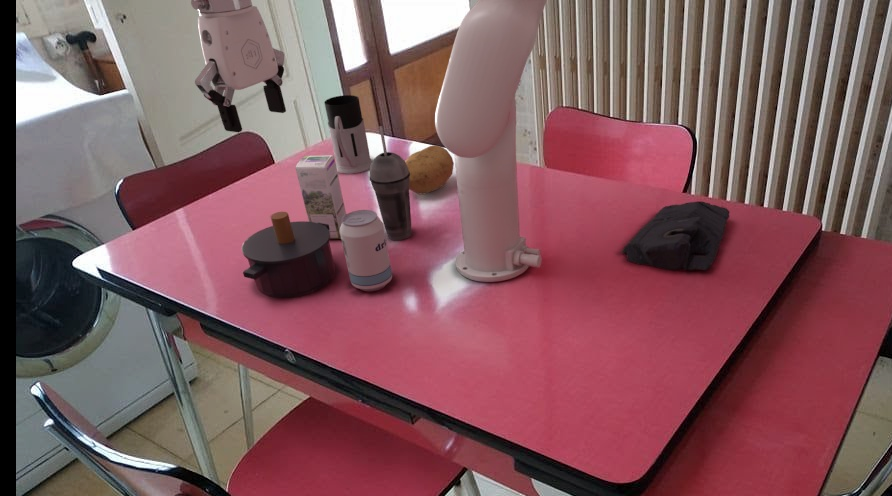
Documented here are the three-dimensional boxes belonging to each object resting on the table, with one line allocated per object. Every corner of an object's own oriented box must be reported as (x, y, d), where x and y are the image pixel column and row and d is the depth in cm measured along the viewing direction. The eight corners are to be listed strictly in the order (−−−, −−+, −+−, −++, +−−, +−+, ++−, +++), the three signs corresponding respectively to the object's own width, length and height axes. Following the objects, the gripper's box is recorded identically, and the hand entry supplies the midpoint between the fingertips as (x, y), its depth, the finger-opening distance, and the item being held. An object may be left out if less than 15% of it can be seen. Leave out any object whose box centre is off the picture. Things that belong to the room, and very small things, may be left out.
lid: (348, 234, 117) (341, 203, 114) (292, 273, 107) (283, 241, 104) (284, 222, 123) (275, 192, 119) (224, 258, 113) (214, 227, 109)
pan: (360, 259, 122) (353, 225, 118) (289, 312, 109) (279, 276, 105) (302, 247, 128) (293, 214, 124) (228, 297, 115) (216, 261, 111)
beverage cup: (382, 246, 126) (362, 138, 114) (377, 230, 131) (358, 125, 119) (422, 239, 127) (406, 131, 115) (415, 223, 133) (399, 118, 121)
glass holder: (375, 158, 163) (364, 93, 154) (367, 181, 152) (354, 112, 143) (338, 160, 163) (325, 95, 154) (328, 184, 152) (312, 115, 143)
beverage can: (387, 294, 112) (375, 226, 104) (346, 294, 113) (331, 227, 105) (397, 273, 117) (386, 207, 110) (358, 273, 118) (344, 208, 111)
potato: (390, 199, 143) (384, 162, 138) (427, 175, 152) (423, 139, 148) (429, 206, 139) (424, 168, 134) (465, 180, 148) (461, 144, 143)
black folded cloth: (742, 222, 124) (746, 197, 121) (705, 278, 109) (709, 251, 106) (660, 208, 130) (662, 185, 128) (615, 260, 116) (616, 234, 113)
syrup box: (350, 226, 134) (334, 153, 125) (341, 240, 129) (325, 165, 120) (321, 226, 134) (304, 154, 126) (312, 240, 130) (293, 166, 121)
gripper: (195, 14, 91) (233, 141, 102) (284, -10, 103) (310, 107, 113) (157, 12, 95) (197, 136, 105) (248, -10, 106) (277, 103, 117)
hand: (256, 121), depth 109 cm, fingers open, 9 cm apart
